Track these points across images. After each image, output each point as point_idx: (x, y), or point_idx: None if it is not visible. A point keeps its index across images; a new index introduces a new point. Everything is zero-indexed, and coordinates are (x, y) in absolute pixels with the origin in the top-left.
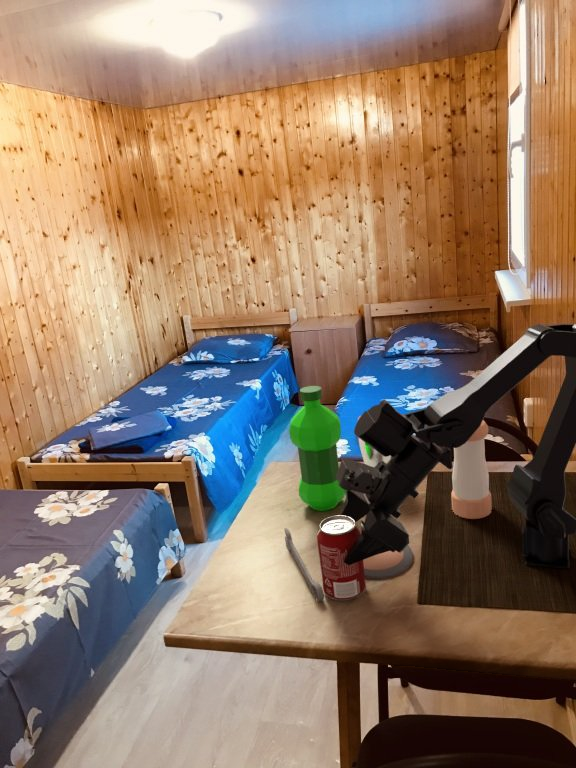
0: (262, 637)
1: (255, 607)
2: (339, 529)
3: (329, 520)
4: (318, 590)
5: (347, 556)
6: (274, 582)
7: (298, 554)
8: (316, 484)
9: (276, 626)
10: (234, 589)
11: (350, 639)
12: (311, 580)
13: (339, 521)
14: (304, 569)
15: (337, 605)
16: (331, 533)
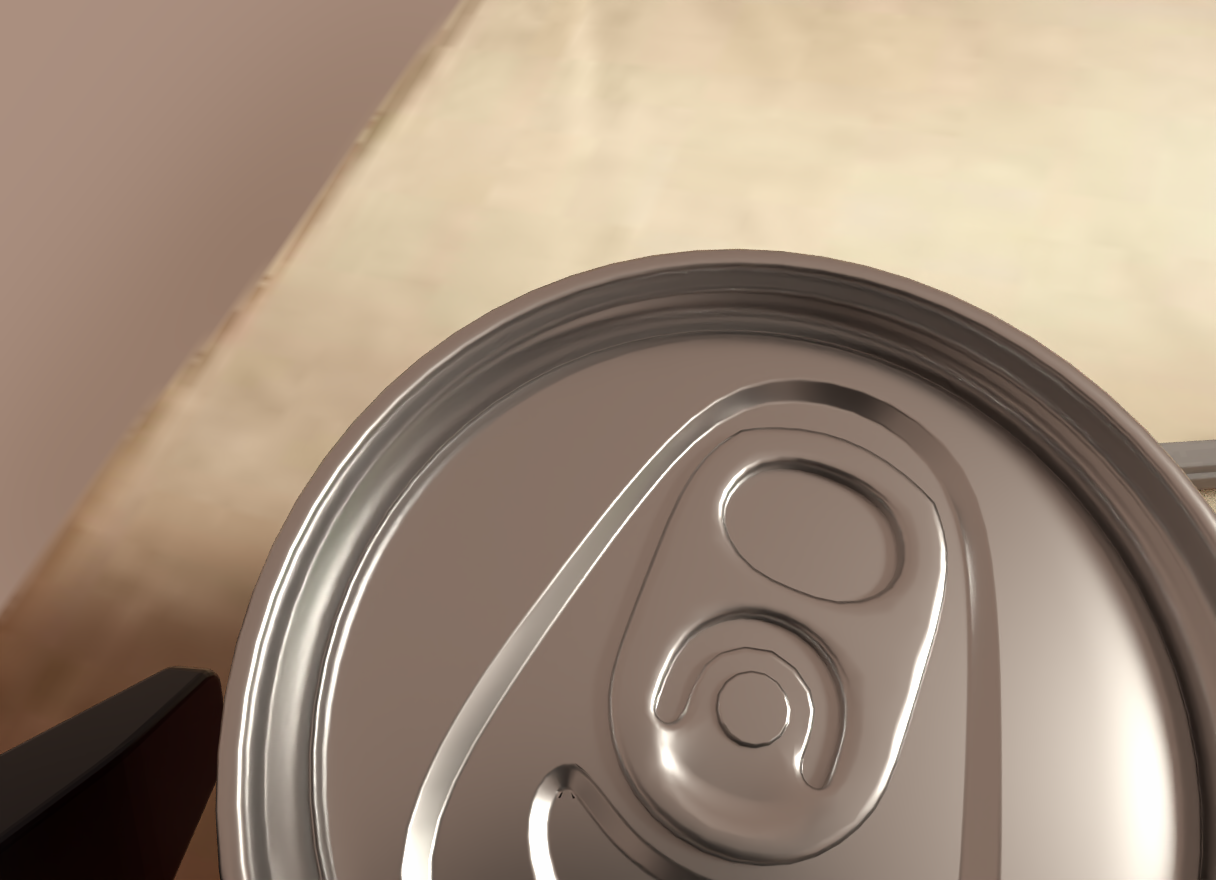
0: (382, 142)
1: (683, 145)
2: (603, 718)
3: (1152, 589)
4: None
5: (73, 718)
6: (930, 286)
7: (1194, 461)
8: None
9: (444, 224)
10: (914, 64)
11: (62, 640)
12: None
13: (1020, 844)
14: None
15: None
16: (362, 420)
